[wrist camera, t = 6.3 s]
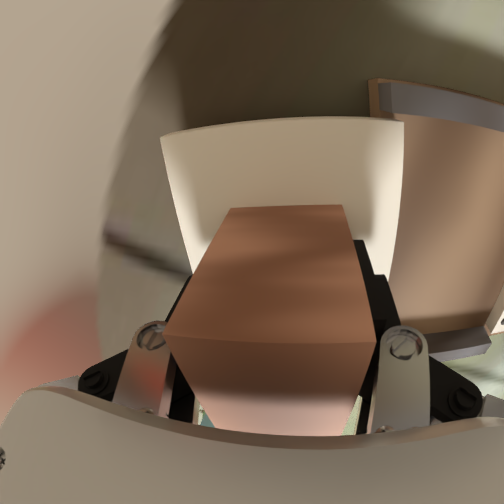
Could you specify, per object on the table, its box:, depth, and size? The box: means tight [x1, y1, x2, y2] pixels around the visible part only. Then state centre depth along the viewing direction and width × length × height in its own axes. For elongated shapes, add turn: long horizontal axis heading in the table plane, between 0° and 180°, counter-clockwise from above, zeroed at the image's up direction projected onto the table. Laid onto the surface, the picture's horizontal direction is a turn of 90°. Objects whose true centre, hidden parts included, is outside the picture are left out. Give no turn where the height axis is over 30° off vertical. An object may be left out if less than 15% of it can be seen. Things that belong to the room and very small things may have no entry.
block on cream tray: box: [160, 116, 404, 436], centre depth 9 cm, size 8×11×7 cm
